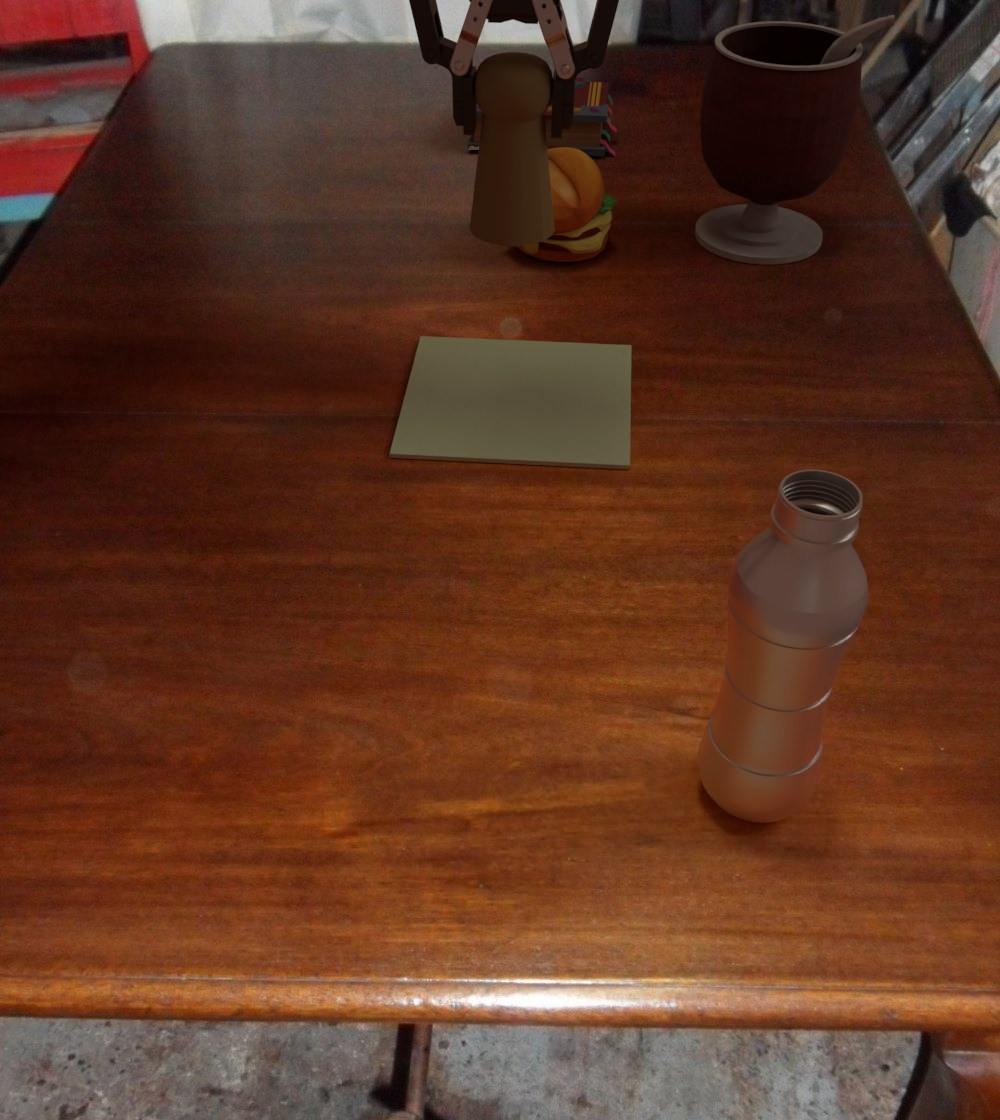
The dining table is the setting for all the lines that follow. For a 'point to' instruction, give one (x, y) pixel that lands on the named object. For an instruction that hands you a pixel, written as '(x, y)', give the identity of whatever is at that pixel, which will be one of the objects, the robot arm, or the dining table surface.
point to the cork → (513, 151)
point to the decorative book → (577, 121)
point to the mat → (517, 403)
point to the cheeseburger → (575, 209)
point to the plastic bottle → (785, 649)
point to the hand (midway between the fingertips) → (513, 131)
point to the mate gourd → (776, 131)
